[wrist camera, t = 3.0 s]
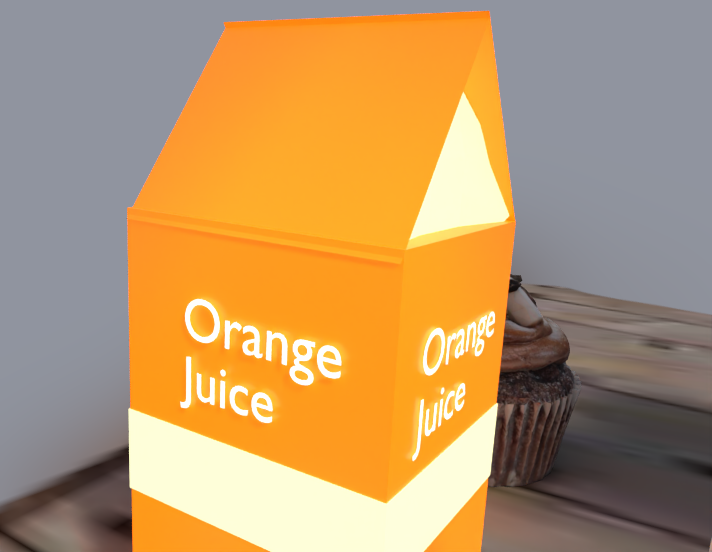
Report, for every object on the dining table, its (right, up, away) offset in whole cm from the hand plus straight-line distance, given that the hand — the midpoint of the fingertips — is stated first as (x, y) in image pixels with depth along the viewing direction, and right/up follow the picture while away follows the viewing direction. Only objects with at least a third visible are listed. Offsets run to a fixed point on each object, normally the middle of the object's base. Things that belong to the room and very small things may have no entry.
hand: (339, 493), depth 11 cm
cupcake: (+7, -6, +26) cm, 28 cm away
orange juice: (-1, -9, +12) cm, 15 cm away
